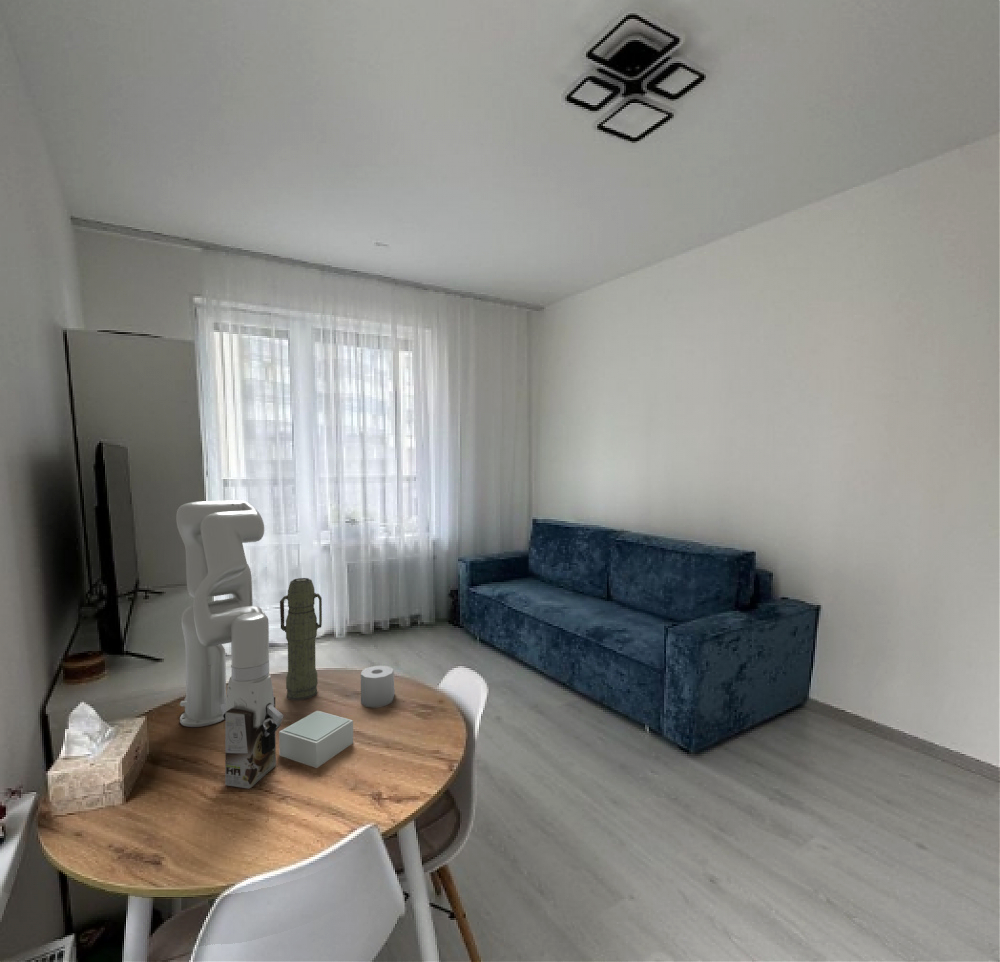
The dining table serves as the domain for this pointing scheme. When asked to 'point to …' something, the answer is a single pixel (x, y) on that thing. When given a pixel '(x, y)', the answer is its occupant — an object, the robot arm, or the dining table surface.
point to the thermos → (301, 638)
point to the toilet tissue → (377, 686)
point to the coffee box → (245, 750)
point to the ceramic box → (316, 738)
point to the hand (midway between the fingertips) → (251, 747)
